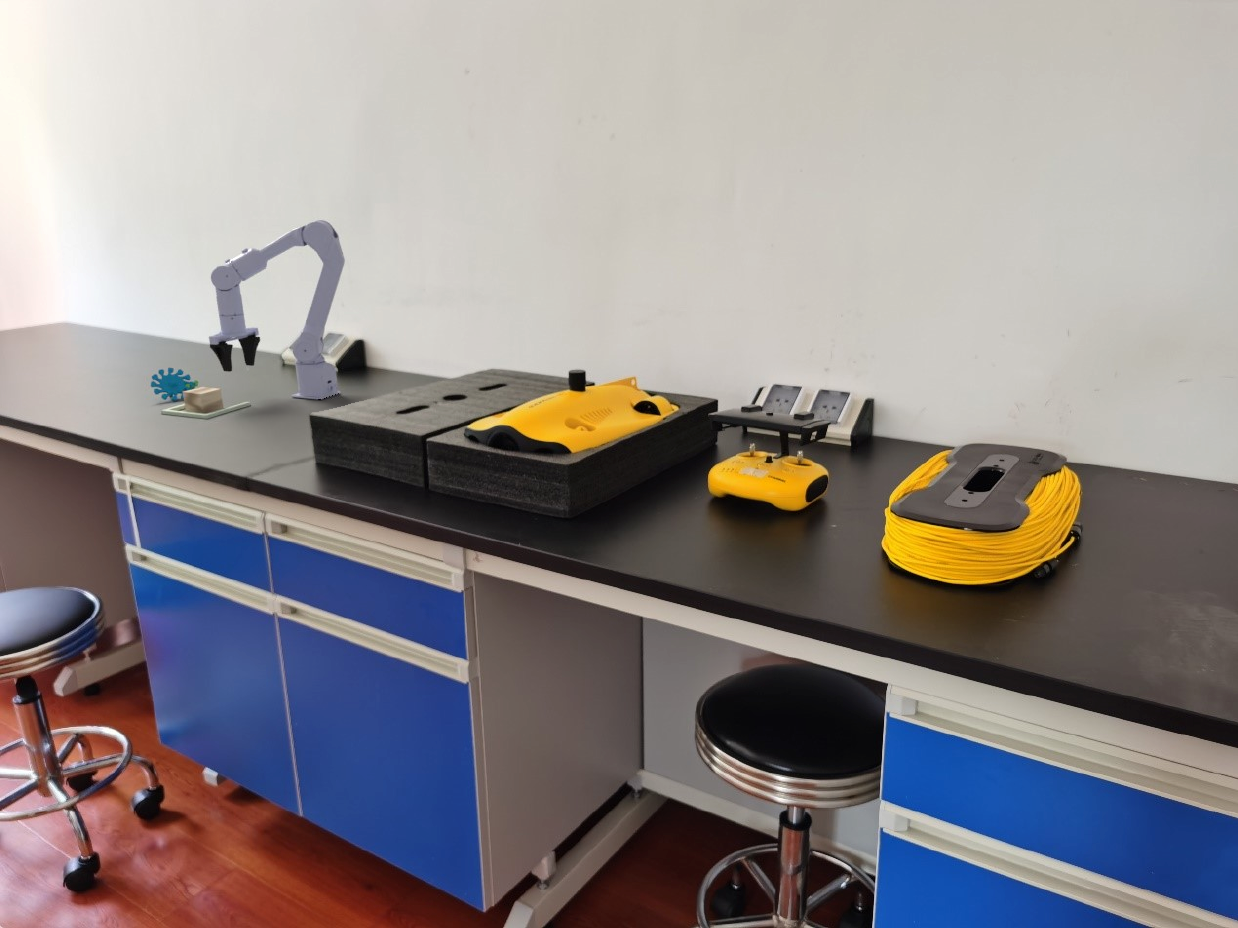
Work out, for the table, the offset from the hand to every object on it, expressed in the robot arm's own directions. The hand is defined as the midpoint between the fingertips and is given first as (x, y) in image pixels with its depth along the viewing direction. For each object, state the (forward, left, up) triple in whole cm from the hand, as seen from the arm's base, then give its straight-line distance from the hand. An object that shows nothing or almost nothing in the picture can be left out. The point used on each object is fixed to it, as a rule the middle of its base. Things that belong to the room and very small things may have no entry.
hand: (239, 368), depth 230 cm
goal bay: (0, +12, -8) cm, 14 cm away
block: (0, +13, -8) cm, 15 cm away
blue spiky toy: (+17, +6, -8) cm, 19 cm away
